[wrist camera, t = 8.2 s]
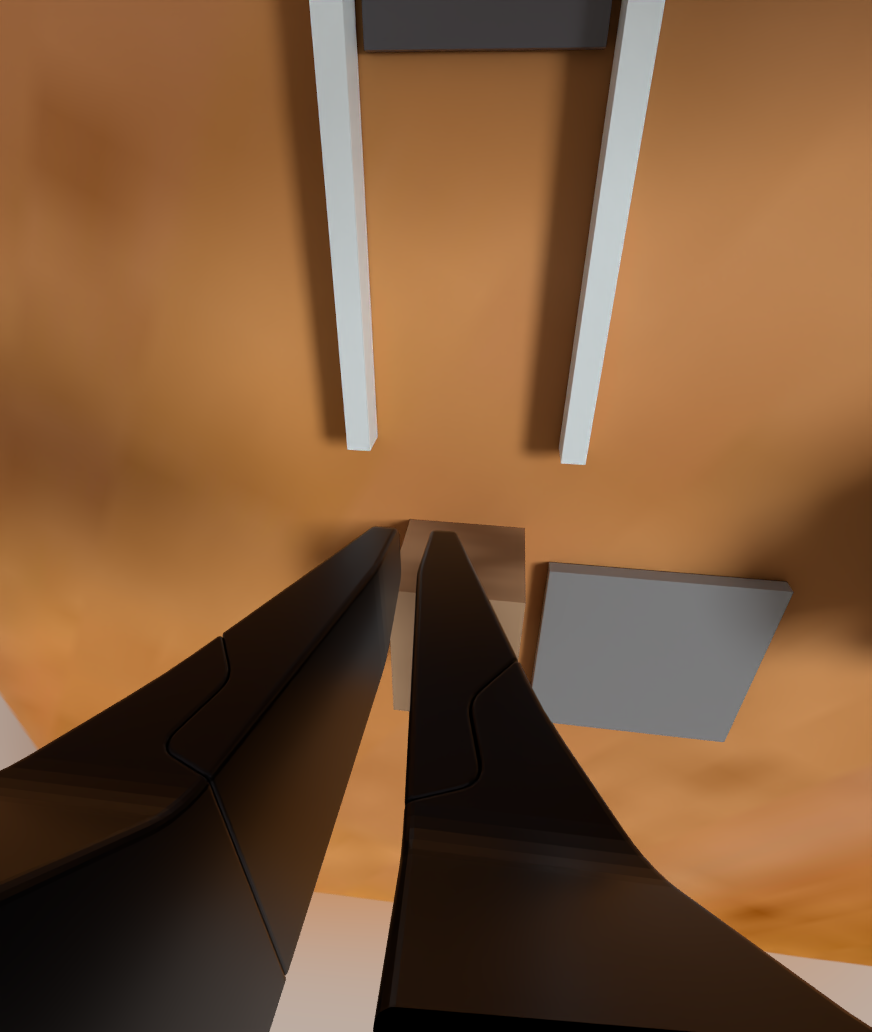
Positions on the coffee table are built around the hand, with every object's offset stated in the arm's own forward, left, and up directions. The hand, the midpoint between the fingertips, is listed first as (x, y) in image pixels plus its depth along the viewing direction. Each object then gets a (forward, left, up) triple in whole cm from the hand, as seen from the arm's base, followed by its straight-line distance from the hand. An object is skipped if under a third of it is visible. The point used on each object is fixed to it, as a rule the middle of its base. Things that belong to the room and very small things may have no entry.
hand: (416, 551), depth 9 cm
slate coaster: (-8, +12, -11) cm, 18 cm away
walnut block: (0, +9, -11) cm, 14 cm away
